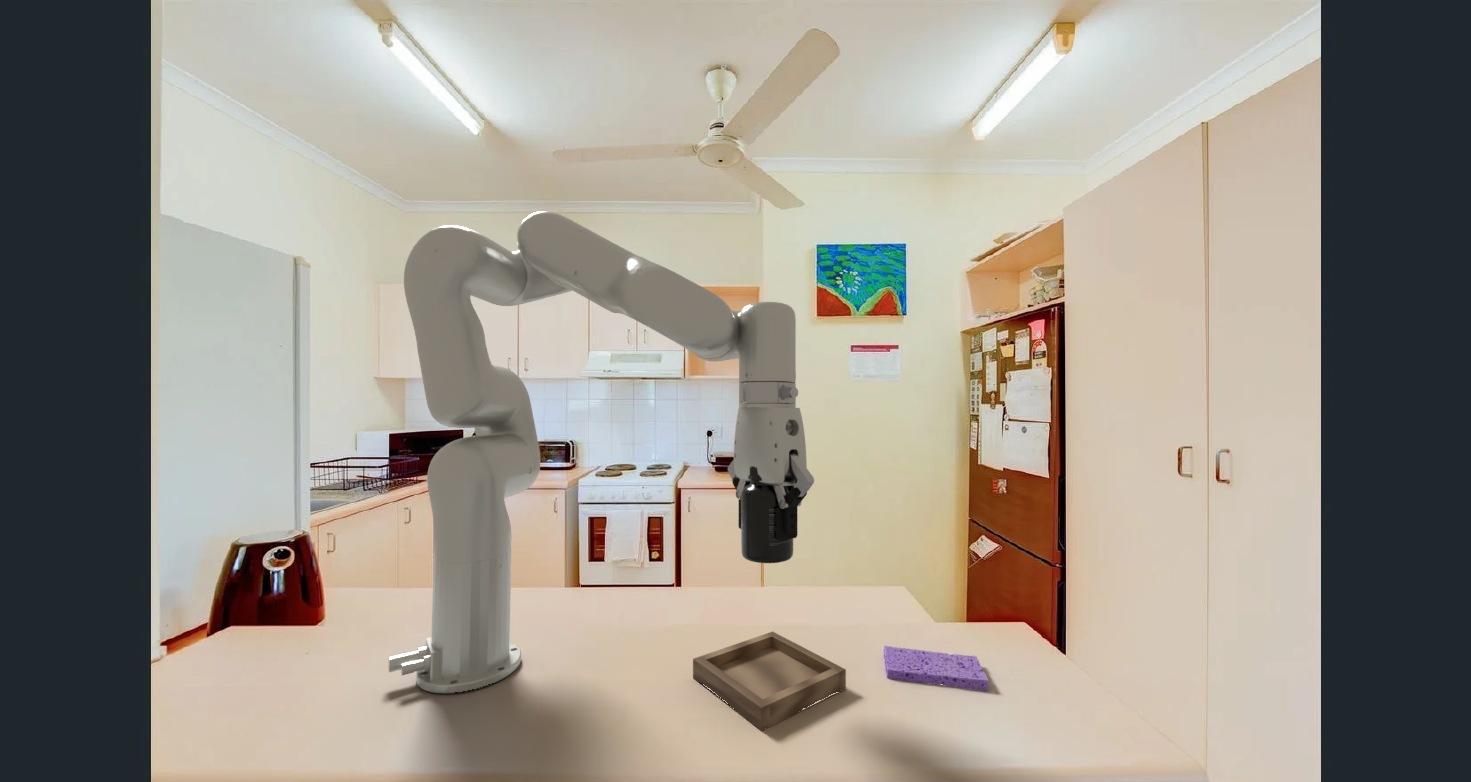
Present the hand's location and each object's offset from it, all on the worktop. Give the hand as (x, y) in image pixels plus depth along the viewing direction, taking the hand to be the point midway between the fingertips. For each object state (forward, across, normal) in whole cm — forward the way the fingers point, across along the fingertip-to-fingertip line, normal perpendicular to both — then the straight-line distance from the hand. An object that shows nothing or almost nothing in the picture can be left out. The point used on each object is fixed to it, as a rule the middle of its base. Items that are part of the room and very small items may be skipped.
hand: (766, 532), depth 67 cm
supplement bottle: (+3, 0, 0) cm, 3 cm away
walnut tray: (+19, 0, 0) cm, 19 cm away
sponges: (+20, -11, -20) cm, 31 cm away
